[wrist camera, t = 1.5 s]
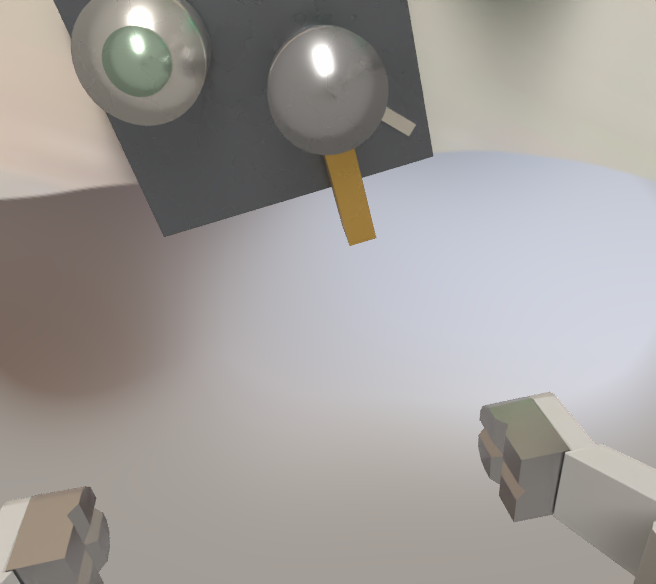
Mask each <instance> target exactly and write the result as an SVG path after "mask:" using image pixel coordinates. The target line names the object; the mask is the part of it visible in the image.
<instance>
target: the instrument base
mask: <svg viewBox="0 0 656 584" xmlns="http://www.w3.org/2000/svg"><path fill="white" fill-rule="evenodd" d="M54 2H55V5H56V7H57V9H58V11H59V13H60V15H61V17H62V20H63V22H64V24H65V26H66V28H67V30H68V32H69V35H70V37H71V54H72V60H73V64H74V68H75V71H76V74H77V76H78V79H79V81H80V82H81V84H82V86H83V88H84V89H85V91H86V92H87V93H88V95H89V96H90V97H91V98H92V99H93V101H94V102H95V103H96V104H97V105H99V106H100V107H101V108H102V109H103V110H105V112H106V114H107V116H108V118H109V120H110V122H111V124H112V127H113V129H114V131H115V133H116V135H117V137H118V139H119V141H120V144H121V146H122V148H123V150H124V152H125V154H126V156H127V159H128V161H129V163H130V165H131V167H132V169H133V171H134V174H135V176H136V178H137V180H138V182H139V184H140V186H141V189H142V191H143V193H144V195H145V197H146V199H147V201H148V204H149V206H150V208H151V210H152V212H153V214H154V216H155V218H156V221H157V223H158V225H159V227H160V229H161V231H162V233H163V236H164V237H166V236H169V235H172V234H176V233H179V232H182V231H186V230H189V229H192V228H196V227H199V226H202V225H206V224H209V223H212V222H216V221H219V220H222V219H226V218H229V217H232V216H236V215H239V214H242V213H246V212H249V211H252V210H256V209H259V208H262V207H265V206H269V205H272V204H276V203H279V202H283V201H286V200H289V199H293V198H296V197H299V196H302V195H306V194H309V193H313V192H316V191H319V190H322V189H326V188H329V187H332V186H331V182H330V179H329V175H328V171H327V168H326V164H325V161H324V157H323V155H319V154H313V153H310V152H307V151H304V150H302V149H300V148H298V147H297V146H295V145H294V144H292V143H291V142H290V141H289V140H287V139H286V137H285V136H284V135H283V134H282V133H281V132H280V130H279V129H278V127H277V126H276V124H275V122H274V120H273V117H272V115H271V112H270V108H269V103H268V96H267V77H268V72H269V68H270V65H271V63H272V60H273V58H274V56H275V54H276V53H277V51H278V50H279V48H280V47H281V46H282V44H283V43H284V42H285V41H286V40H287V39H288V38H290V37H291V36H292V35H294V34H295V33H297V32H299V31H301V30H303V29H305V28H308V27H312V26H316V25H334V26H339V27H342V28H345V29H348V30H349V31H351V32H353V33H355V34H357V35H358V36H360V37H362V38H363V39H364V40H366V41H367V42H368V43H369V44H370V45H371V46H372V47H373V48H374V49H375V51H376V52H377V53H378V55H379V57H380V58H381V60H382V62H383V65H384V67H385V70H386V74H387V78H388V85H389V94H388V102H387V106H386V110H385V113H384V116H383V118H382V120H381V122H380V124H379V125H378V127H377V128H376V130H375V131H374V132H373V134H372V135H371V136H370V137H369V138H368V139H367V140H366V141H364V142H363V143H362V144H360V145H359V146H357V147H356V148H355V153H356V157H357V161H358V165H359V169H360V173H361V177H362V178H363V177H365V176H369V175H372V174H376V173H379V172H383V171H386V170H389V169H393V168H396V167H399V166H403V165H406V164H409V163H413V162H416V161H419V160H422V159H426V158H429V157H432V156H433V152H432V146H431V140H430V134H429V128H428V122H427V116H426V110H425V104H424V98H423V92H422V86H421V80H420V74H419V68H418V62H417V56H416V50H415V44H414V38H413V32H412V26H411V20H410V14H409V8H408V2H407V0H54Z"/></svg>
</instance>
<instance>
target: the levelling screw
mask: <svg viewBox="0 0 656 584" xmlns="http://www.w3.org/2000/svg"><path fill="white" fill-rule="evenodd" d="M388 94H389V85H388V78H387V74H386V70H385V67H384V65H383V62H382V60H381V58H380V57H379V55H378V53H377V52H376V51H375V49H374V48H373V47H372V46H371V45H370V44H369V43H368V42H367V41H366V40H364V39H363V38H362V37H360V36H358V35H357V34H355V33H353V32H351V31H349V30H348V29H345V28H342V27H339V26H334V25H316V26H312V27H308V28H305V29H303V30H301V31H299V32H297V33H295V34H294V35H292V36H291V37H290V38H288V39H287V40H286V41H285V42H284V43H283V44H282V46H281V47H280V48H279V50H278V51H277V53H276V54H275V56H274V58H273V60H272V63H271V65H270V68H269V72H268V77H267V96H268V103H269V108H270V112H271V115H272V117H273V120H274V122H275V124H276V126H277V127H278V129H279V130H280V132H281V133H282V134H283V135H284V136H285V137H286V139H287V140H289V141H290V142H291V143H292V144H294V145H295V146H297V147H298V148H300V149H302V150H304V151H307V152H310V153H313V154H319V155H323V157H324V161H325V164H326V168H327V171H328V175H329V179H330V182H331V186H332V189H333V193H334V197H335V201H336V204H337V208H338V211H339V215H340V219H341V222H342V226H343V229H344V231H345V234H346V237H347V239H348V242H349V245H350V246H351V245H354V244H358V243H361V242H364V241H368V240H371V239H375V238H376V235H375V231H374V227H373V223H372V219H371V215H370V211H369V206H368V202H367V198H366V194H365V190H364V186H363V181H362V177H361V173H360V169H359V165H358V161H357V157H356V153H355V148H356V147H357V146H359V145H360V144H362V143H363V142H364V141H366V140H367V139H368V138H369V137H370V136H371V135H372V134H373V132H374V131H375V130H376V128H377V127H378V125H379V124H380V122H381V120H382V118H383V116H384V113H385V110H386V106H387V102H388Z"/></svg>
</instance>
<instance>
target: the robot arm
mask: <svg viewBox="0 0 656 584" xmlns="http://www.w3.org/2000/svg"><path fill="white" fill-rule="evenodd" d="M480 421H481V423H482V424H483V426H484V429H483V430H482V431H481V433H480V434H479V442H478V447H479V452H480V457H481V461H482V463H483V466H484V469H485V470H486V472H487V474H488V476H489V478H490V479H492V480H493V481H495V482H496V483H498V484H500V491H499V496H500V498H501V500H502V502H503V504H504V505H505V507H506V509H507V511H508V513H509V514H510V516H511V518H512V519H513V521H514V522H517V521H522V520H527V519H532V518H538V517H542V516H548V515H553V514H554V515H553V516H554V517H555V518H556V519H557V520H559V521H560V522H561V523H563V524H564V525H566V526H567V527H568V528H570V529H571V530H572V531H574V532H575V533H576V534H578V535H579V536H581V537H582V538H583V539H585V540H586V541H587V542H589V543H590V544H592V545H593V546H594V547H596V548H597V549H598V550H600V551H601V552H602V553H604V554H605V555H607V556H608V557H609V558H611V559H612V560H613V561H615V562H616V563H617V564H619V565H620V566H622V567H623V568H624V569H626V570H627V571H628V572H630V573H631V574H633V575H634V576H635V577H636V578H635V581H634V584H656V469H654V468H652V467H650V466H648V465H645V464H643V463H641V462H639V461H637V460H635V459H633V458H631V457H629V456H627V455H625V454H622V453H620V452H618V451H616V450H614V449H612V448H610V447H608V446H606V445H604V444H602V445H596V444H595V443H594V442H593V440H592V439H591V438H590V437H589V436H588V434H587V433H586V432H585V431H584V430H583V428H582V427H581V426H580V425H579V423H578V422H577V421H576V420H575V419H574V417H573V416H572V415H571V414H570V413H569V411H568V410H567V409H566V408H565V407H564V405H563V404H562V403H561V402H560V401H559V399H558V398H557V397H556V396H555V394H553V393H551V392H547V393H542V394H537V395H533V396H528V397H523V398H518V399H513V400H509V401H504V402H499V403H495V404H490V405H485V406H483V407H482V409H481V411H480ZM95 501H96V497H95V495H94V493H93V491H92V489H91V487H86V486H85V487H80V488H74V489H68V490H63V491H57V492H52V493H46V494H40V495H35V496H31V497H26V498H21V499H14V500H9V501H7V502H6V503H5V504H4V505H3V506H2V508H1V510H0V584H103V581H102V579H101V577H100V575H99V573H98V572H99V571H100V570H101V568H102V567H103V566H104V565H105V563H106V562H107V561H108V555H109V548H110V544H109V543H110V541H109V528H108V524H107V520H106V518H105V516H104V513H103V512H101V511H99V510H97V509H95V508H94V505H95Z"/></svg>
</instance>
